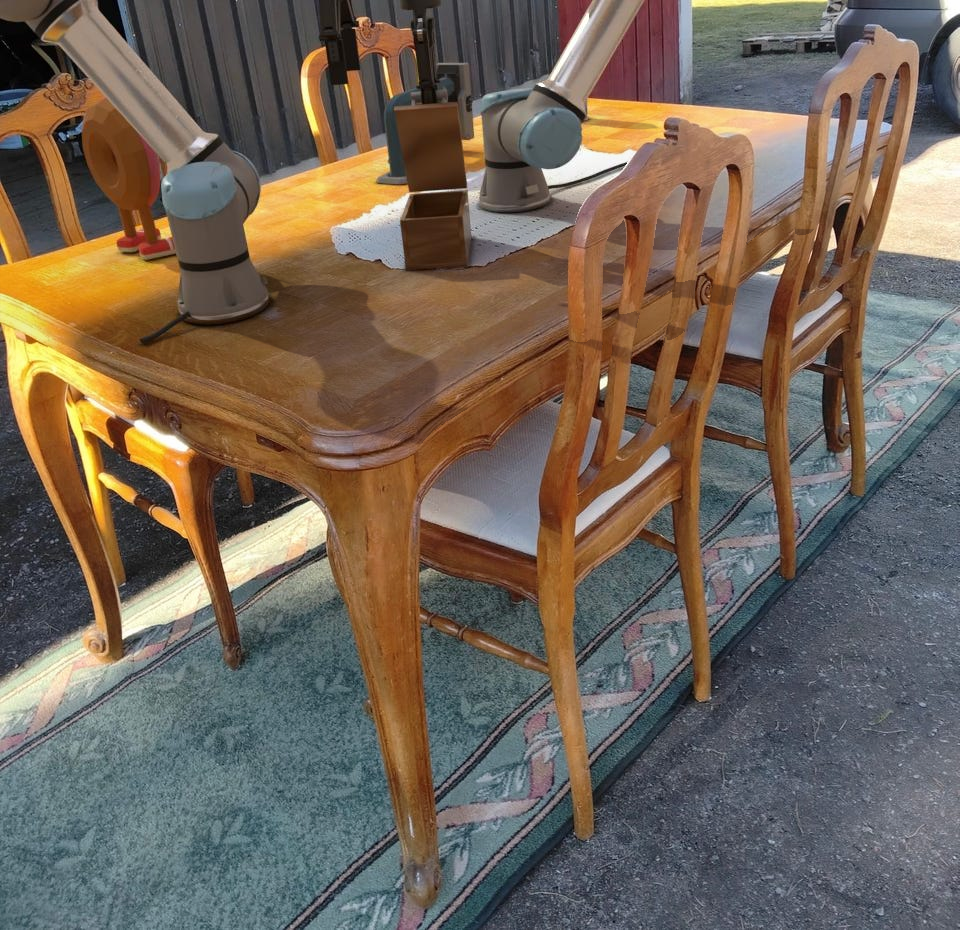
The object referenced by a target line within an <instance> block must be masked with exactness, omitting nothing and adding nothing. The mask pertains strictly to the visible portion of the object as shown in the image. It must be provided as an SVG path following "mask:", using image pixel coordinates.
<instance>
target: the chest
mask: <svg viewBox="0 0 960 930" xmlns="http://www.w3.org/2000/svg"><path fill="white" fill-rule="evenodd" d="M469 204H470V203H469V192H468V189H458V190H443V191H429V192H414V193H409V195H408V198H407V201H406V203H405V206H404V208H403V211H402V213H401V217H400V219H399V226H400V234H401V243H402V250H403V259H404V265H405V266H404V267H405V270H406V271H415V270H416V271H417V270H433V269H448V268H449V269H450V268H464V267H468V263H469V255H470V250H471V243H472V227H471V226H472V225H471V213H470V205H469Z"/></svg>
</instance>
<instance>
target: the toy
mask: <svg viewBox="0 0 960 930" xmlns="http://www.w3.org/2000/svg"><path fill="white" fill-rule="evenodd" d="M81 141H82V142H81V143H82V150H83V153H84V157H85V161H86V165H87V167H88V169H89V172H90V174H91V176H92V178H93V179H94V182H95V183H96V184H97V186H98V187H99V188H100V190H101V191H102V192H103V194H104V195H105V196H106V197H107V198H108V199H109V200H110V201H111V202H112V203H113V204H114V205H116V206H117V210H118V213H119V217H120V221H121V225H122V230H123V233H124V236H122V237H120V238H118V239H116V243H115V244H116V247H117V250H118V252H121V253H135V252H139V256H140V257H141V259H143V260H152V259H158V258H162V257H167V256H172V255H176V251H175V247H174V243H173V238H172V236H170V237H165V238H162V234H161V231H160V229H159V228H158V227H156V224H155V219H154V215H153V211H152V208H151V207H152V205H154V203H155V202H156V200H157V198H158V195H159V193H160V190H161V166H160V165H161V164H160V160H159V159H160V158H159V156H158V155H157V154H156V153H155V151H154V150H153V149H152V148H151V147H150V146H149V145H148V144H147V143H146V141H145V140H144V139H143V138H142V137H141V136H140V135H139V134H138V132H137V131H136V130H135V129H134V128H133V127H132V126H131V125H130V124H129V122H128V121H127V120H126V119H125V118H124V117H123V116H122V115H121V114H120V112H119V111H118V110H117V109H116V108H115V107H114V106H113V105H112V104H111V102H110V101H109V100H108V99H107V98H106V97H104V98H102V99H100V100H98V101H95V103H92V104H91V105H89V106H88V107H86V110H85V113H84V116H83V119H82V124H81ZM132 211H133V212H134V211H138V214H139V219H140V222H141V226H142V228H139V229H136V225H135V220H134V215H133V212H132Z"/></svg>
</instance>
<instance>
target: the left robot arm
mask: <svg viewBox="0 0 960 930" xmlns="http://www.w3.org/2000/svg"><path fill="white" fill-rule="evenodd" d="M318 8H319V22H320V23H319V24H320V25H319V27H320V34H318V41H319V42H324V46H325V52H326V60H327V61H326V62H327V67H328V73H329V81H330V86H340V85H341V86H343V85H349V77H348V72H357V71H361V63H360V53H359V46H358V40H357V31H356V28H360V20H357V16H356V13H355V6H354V2H353V0H318ZM0 19H1V20H5V21H7V22H15V23H21V22H24V23H25V24H27V26H28V27H29V28H30V29H31V30H32V32H33V33H35V34H36V35H37V36H38V38H39V39H40V40H41V41H42V42H44V43H50V44H55V45H58V46H59V47H60V48H61V49H62V50H63V51H64V53H65V54H66V55H67V56H68V57H69V58H70V60H72V62H73V63H75V65H76V66H77V67H78V68H79V69H80V70H81V72H83V74H84V75H85V76H86V77H87V78H88V80H90V81H91V83H92V84H93V85H94V86H95V87H96V88H97V90H99V92H101V94H102V95H103V96H104V98H107V99H108V100H109V101H110V102H111V104H112V105H113V106H114V107H115V108H116V109H117V110H118V111H119V112H120V114H121V115H122V116H123V117H124V118H125V119H126V120H127V121H128V122H129V124H130V125H131V126H132V127H133V128H134V129H135V130H136V131H137V132H138V134H139V135H140V136H141V137H142V138H143V139H144V140H145V141H146V143H147V144H148V145H149V146H150V147H151V148H152V149H153V150H154V151H155V153H156V154H157V155H158V158H159V159H161V161H162V162H163V163H164V164H165V166H166V175H165V176H164V177H163V178H162V180H161V182H160V190H161V199H162V206H163V208H164V210H165V214H166V218H167V221H168V226H169V230H170V234H171V237H172V238H173V243H174V247H175V251H176V254H175V255H176V258H177V262H178V266H179V283H178V294H177V310H178V314H179V315H178V316H177V317H175V318H174V319H172V320H171V321H169V322H168V323H166V324H165V325H164V326H163V327H161V328H160V329H158V330H156V331H155V332H153V333H151V334H149V335H146V336H144V337H141V338H139V342H140V343H141V344H146V343H148V342H151V341H153V340H155V339H157V338H159V337H160V336H162V335H164V334H165V333H166V332H168V331H169V330H171V329H172V328H173V327H175V326H176V325H178V324H179V323H181V322H182V321H184V322H186V323H189V324H193V325H202V326H203V325H204V326H205V325H206V326H210V325H222V324H230V323H233V322H239V321H241V320H245V319H248V318H251V317H253V316H256V315H258V314H260V312H263V311H264V310H265V309H266V308H267V307H268V306H269V305H270V296H269V291H268V290H267V287H266V285H269V283H268V277H267V276H266V277H265V276H262V275H260V274H259V272H258V270H257V269H256V267H255V265H254V264H253V262H252V260H251V257H250V251H249V246H248V241H247V236H246V232H245V227H244V224H245V222H246V221H247V220H248V218H249V217H250V216H251V215H252V214H253V213H254V212H255V210H256V208H257V206H258V205H259V200H260V196H261V191H262V183H261V178H260V175H259V172H258V170H257V167H256V166H255V165H254V163H253V162H252V161H251V160H250V159H249V158H248V157H247V156H245V155H244V154H242V153H240V152H238V151H236V150H232V149H231V148H230V147H229V145H227V144H226V142H225V141H224V140H223V139H222V138H221V137H220V136H219V134H218V133H211V132H205V131H204V130H203V129H202V127H200V126H199V124H198V123H196V121H195V120H194V119H193V118H192V116H191V115H190V114H189V113H188V111H187V110H185V109H184V107H183V106H182V105H181V104H180V102H179V101H178V100H177V99H176V98H175V97H174V96H173V95H172V93H171V92H170V90H168V89H167V88H166V86H165V85H164V84H163V83H162V81H161V80H159V78H158V77H157V75H155V73H153V71H152V70H151V69H150V67H148V65H147V64H146V63H145V61H143V60H142V59H141V57H140V56H139V55H138V54H137V53H136V51H134V49H133V48H132V47H131V46H130V45H129V43H128V42H127V41H126V40H125V39H124V38H123V37H122V35H121V34H120V33H119V32H118V31H117V29H116V28H115V27H114V26H113V25H112V24H111V23H110V22H109V20H108V19H107V18H106V17H105V16H104V14H103V13H102V12H101V11H100V10H99V1H98V0H0Z"/></svg>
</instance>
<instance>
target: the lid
mask: <svg viewBox="0 0 960 930" xmlns="http://www.w3.org/2000/svg"><path fill="white" fill-rule="evenodd" d="M436 96H437V102H442V103H437V104H424V105H416V104H422V99H421V92H411V103H412V105H410V106H397V107H394V112H395V118H396V123H397V129H398V134H399V140H400V145H401V150H402V156H403V161H404V167H405V172H406V178H407V183H406V184H407V188H408V192H409V193H423V192H437V191H452V190H466V189H468V179H467V171H466V163H465V154H464V147H463V140H462V137H461V129H460V121H459V112H458V104H457V102H450V103H446V102H447V101H448V95H447V90H436Z"/></svg>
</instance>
